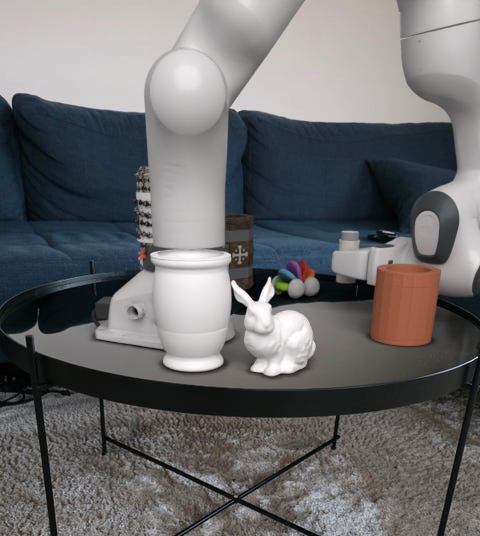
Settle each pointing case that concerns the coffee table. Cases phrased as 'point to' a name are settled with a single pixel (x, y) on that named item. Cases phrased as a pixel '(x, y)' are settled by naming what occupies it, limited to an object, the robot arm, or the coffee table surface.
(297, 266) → the rainbow wheeled toy
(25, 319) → the coffee table surface
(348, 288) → the coffee table surface
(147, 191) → the decorative candle
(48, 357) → the coffee table surface
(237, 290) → the rabbit
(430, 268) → the terracotta jar
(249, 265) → the mug
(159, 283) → the jar
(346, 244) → the salt shaker
